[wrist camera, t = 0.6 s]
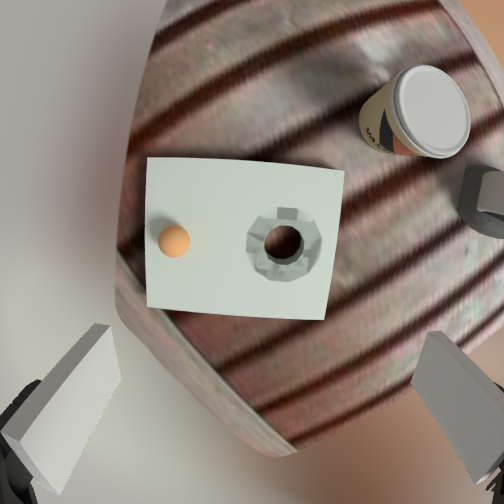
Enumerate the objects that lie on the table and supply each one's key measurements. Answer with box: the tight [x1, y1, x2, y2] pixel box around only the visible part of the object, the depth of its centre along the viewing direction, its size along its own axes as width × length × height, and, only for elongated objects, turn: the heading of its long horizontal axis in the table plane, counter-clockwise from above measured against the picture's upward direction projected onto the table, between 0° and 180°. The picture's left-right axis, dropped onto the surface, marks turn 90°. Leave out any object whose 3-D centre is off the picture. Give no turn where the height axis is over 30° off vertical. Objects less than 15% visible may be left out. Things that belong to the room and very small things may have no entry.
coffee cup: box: [359, 64, 470, 158], centre depth 26 cm, size 9×9×12 cm
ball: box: [158, 225, 190, 258], centre depth 31 cm, size 4×4×4 cm
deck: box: [145, 158, 344, 320], centre depth 34 cm, size 22×18×2 cm
